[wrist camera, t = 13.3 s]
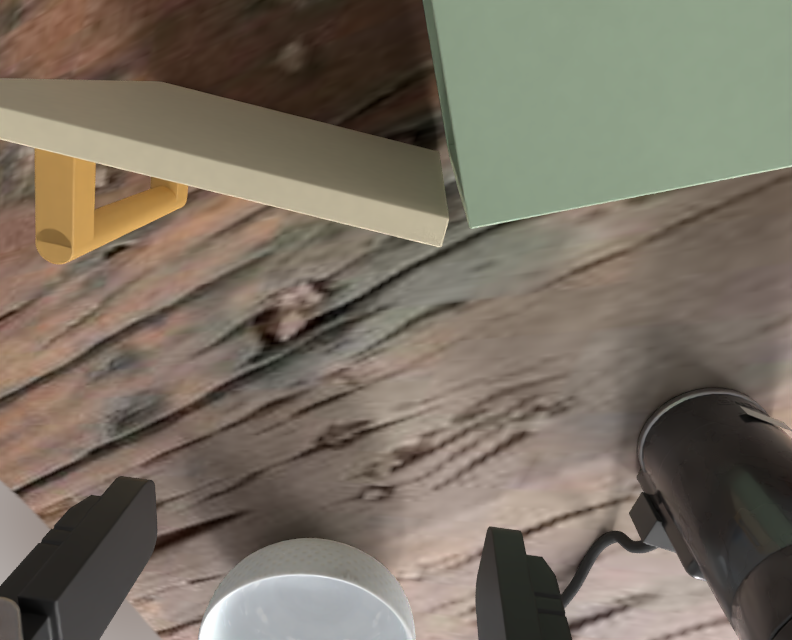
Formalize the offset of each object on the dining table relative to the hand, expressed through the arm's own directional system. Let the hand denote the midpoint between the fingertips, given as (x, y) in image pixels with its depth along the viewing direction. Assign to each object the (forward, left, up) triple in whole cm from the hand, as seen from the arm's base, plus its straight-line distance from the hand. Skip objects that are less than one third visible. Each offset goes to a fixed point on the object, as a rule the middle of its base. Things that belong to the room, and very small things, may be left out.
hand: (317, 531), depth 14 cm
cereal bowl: (-31, -4, -27) cm, 41 cm away
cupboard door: (+3, +7, -26) cm, 27 cm away
